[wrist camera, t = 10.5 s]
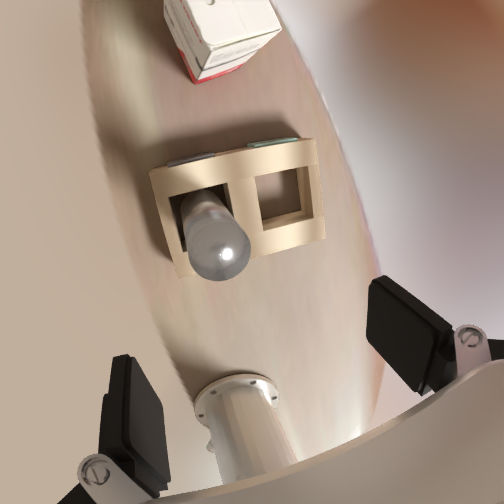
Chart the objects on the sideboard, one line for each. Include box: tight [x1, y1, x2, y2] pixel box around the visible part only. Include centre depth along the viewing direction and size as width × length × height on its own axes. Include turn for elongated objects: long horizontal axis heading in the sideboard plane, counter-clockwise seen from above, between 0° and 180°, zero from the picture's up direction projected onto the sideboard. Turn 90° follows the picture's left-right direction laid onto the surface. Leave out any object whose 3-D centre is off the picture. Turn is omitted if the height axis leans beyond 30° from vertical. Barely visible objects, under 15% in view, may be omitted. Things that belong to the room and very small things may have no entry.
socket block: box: [149, 137, 326, 279], centre depth 28 cm, size 15×10×3 cm
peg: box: [181, 190, 251, 281], centre depth 24 cm, size 4×4×11 cm
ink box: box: [164, 0, 282, 85], centre depth 17 cm, size 9×5×12 cm, turn 22°
